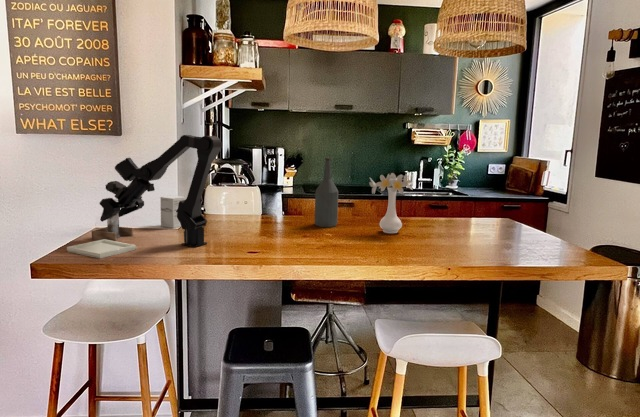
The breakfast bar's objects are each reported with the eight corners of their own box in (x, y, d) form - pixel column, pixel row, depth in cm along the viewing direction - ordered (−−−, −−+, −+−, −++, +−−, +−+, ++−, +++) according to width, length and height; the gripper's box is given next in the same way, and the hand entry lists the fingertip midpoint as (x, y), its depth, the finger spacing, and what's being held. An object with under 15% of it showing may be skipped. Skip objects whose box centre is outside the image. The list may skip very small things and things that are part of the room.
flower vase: (363, 229, 202) (365, 171, 198) (402, 228, 207) (405, 171, 203) (375, 236, 190) (378, 174, 186) (416, 234, 195) (419, 174, 191)
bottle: (310, 223, 212) (312, 157, 207) (329, 222, 217) (331, 157, 212) (321, 228, 203) (323, 158, 198) (341, 226, 208) (343, 158, 203)
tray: (136, 249, 158) (136, 245, 158) (99, 258, 146) (99, 253, 146) (104, 243, 165) (104, 239, 165) (67, 251, 153) (66, 247, 153)
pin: (122, 237, 176) (120, 200, 173) (112, 239, 172) (111, 201, 170) (114, 235, 177) (113, 199, 175) (105, 237, 174) (103, 200, 172)
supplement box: (160, 226, 197) (159, 196, 195) (173, 223, 203) (172, 194, 201) (173, 228, 193) (172, 198, 191) (186, 225, 200) (185, 196, 198)
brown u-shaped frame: (133, 235, 179) (132, 227, 178) (115, 241, 169) (114, 233, 168) (110, 233, 181) (110, 226, 180) (91, 239, 171) (91, 231, 170)
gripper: (136, 172, 179) (112, 199, 183) (103, 176, 161) (77, 205, 165) (155, 193, 179) (130, 220, 183) (124, 200, 161) (97, 229, 165)
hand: (109, 218), depth 174 cm, fingers open, 9 cm apart
